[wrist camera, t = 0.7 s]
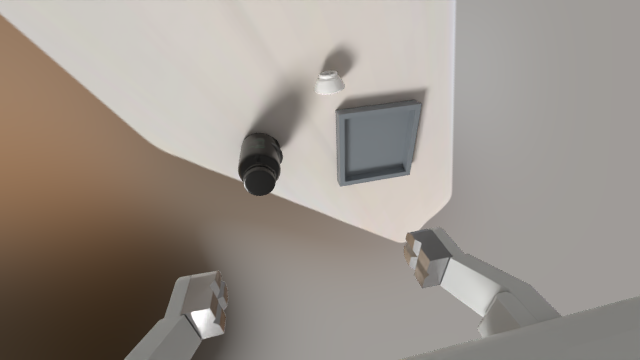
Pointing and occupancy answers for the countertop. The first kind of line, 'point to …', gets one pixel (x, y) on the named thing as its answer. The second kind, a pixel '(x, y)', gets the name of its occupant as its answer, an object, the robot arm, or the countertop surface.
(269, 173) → the supplement bottle
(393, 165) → the tray
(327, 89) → the small white bowl
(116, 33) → the countertop surface
